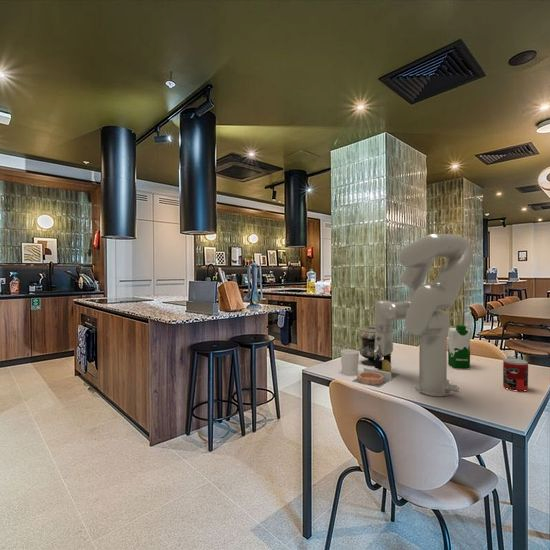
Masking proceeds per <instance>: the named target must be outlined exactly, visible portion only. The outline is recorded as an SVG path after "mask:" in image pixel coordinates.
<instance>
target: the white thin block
mask: <svg viewBox="0 0 550 550" xmlns="http://www.w3.org/2000/svg"><path fill="white" fill-rule="evenodd" d="M375 369H376V368H374V369H373V368H368V367H363V372H373V373H378V374H381V375H382V376H384V379H386V380H390V381H392V380H391V373H390V372H391V371H389V372H385V371H380V370H378V369H376V370H375Z"/></svg>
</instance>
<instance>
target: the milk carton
mask: <svg viewBox="0 0 550 550" xmlns="http://www.w3.org/2000/svg"><path fill="white" fill-rule="evenodd" d="M471 336H472V330H470V329H467V326H466V325H463V324H456V325H455V327H449V331H448V337H447V363H448V364H449V365H448V366H449V367H451V366H452V367H451V368H452V369H454V368H470V369H471Z"/></svg>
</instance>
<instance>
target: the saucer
mask: <svg viewBox="0 0 550 550" xmlns="http://www.w3.org/2000/svg"><path fill="white" fill-rule="evenodd" d="M356 379H358V381H359V382H360V383H359V384H362V383H363V384H362V385H366V384H367V386H370V385H380V384H382V383H383V381H384V376H382V375H381V374H378V373H373V372H364V371H363V372H360V373H357V374H356Z"/></svg>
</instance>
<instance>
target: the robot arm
mask: <svg viewBox="0 0 550 550" xmlns="http://www.w3.org/2000/svg"><path fill="white" fill-rule="evenodd" d="M473 251H474V250H473V247H472V244H470V241H468V240H467V239H466V238H464V237H463V236H461V235H458V234H452V233H431V234H427V235H425V236H423V237H420V238H419V239H416V240H415V241H413V242H411V243H409V244H407V245H406V246H404V247H403V248H402V249H401V251H400V253H399V256H398V261H399V263H400V265H402V266H403V267H404V271H403V273H402V275H401V277H400V281H401V283H402V284H403V285H405V287H407V288H408V294H407V296H406V298H405V299H404V300H405V301H396V302H393V301H391V300H377V301H376V302H375V305H374V306H375V307H374V308H375V314H374V327H375V332H376V336H375V350H374V357H375V358H374V359H375V366H374V369H376V370H378V369H380V370H381V369H382V360H383V359H384V360H387V361H389V362H390V364H391V363H392V353H393V351H394V339H393V338H394V337H393V326H394V321H402V320H404V326H405V328H406V331H407V332H408V333H409V334H410V335H412V336H416V337H417V336H418V337H420V336H421V337H420V339H419V352H418V353H419V354H418V355H419V356H418V357H419V360H418V361H419V364H418V365H419V366H418V367H419V368H418V369H419V370H418V371H419V373H418V374H419V375H418V376H419V381H418V383H416V384H415V385H414V389H415V391H416V392H419V393H420V394H423V395H426V396H430V397H438V398H439V397H440V398H441V397H448V396H451V394H452V392H454V393H459V392H460V387H458V385H457V384H451V383H450V380H449V379H447V375H448V374H447V373H448V372H447V369H448V367H447V366H448V365H447V363H448V331H449V328H450V324H451V323H450V317H449V315H448V314H447V312H446V311H444V310H442V309H448V308H451V307H452V306H453V305H454V304H455V302H456V299H457V297H458V295H459V293H460V290H461V287H462V284H463V282H464V280H465V277H466V275H467V274H468V273H467V272H468V271H469V269H470V267H471V264H472V261H473V257H474V252H473ZM436 258H443V259H444V258H446V261H445V262H444V263H443V264H442V266H441V267H440V269H439V271H438V274H437V275H436V279H435V281H434V282H431V283H429V282H428V283H425V280H426V278H427V276H428V273H429V272H430V270H431V267H432V265H433V263H434V261H435V259H436ZM379 355H380V357H379ZM383 355H384V357H382V356H383ZM391 365H392V364H391Z"/></svg>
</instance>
